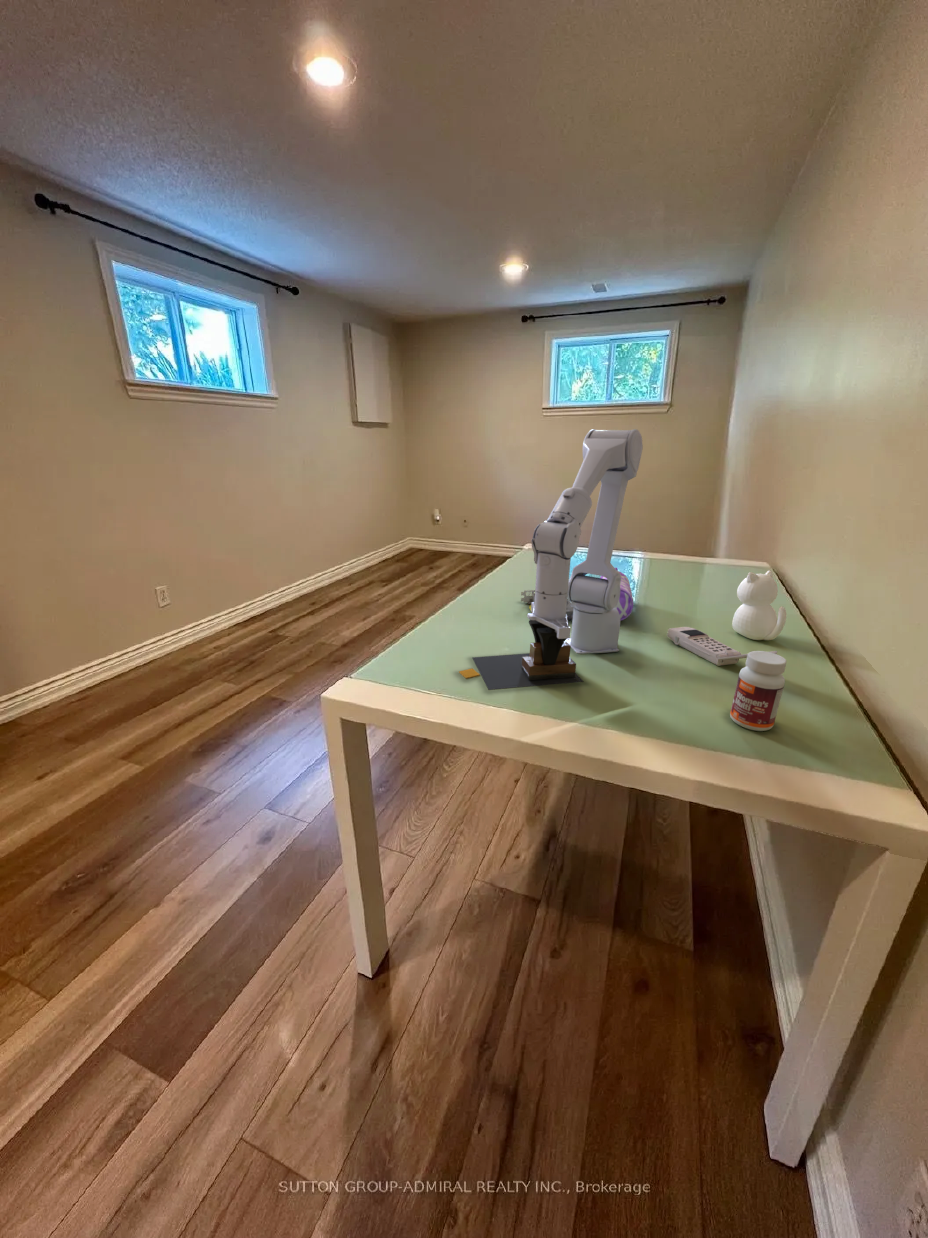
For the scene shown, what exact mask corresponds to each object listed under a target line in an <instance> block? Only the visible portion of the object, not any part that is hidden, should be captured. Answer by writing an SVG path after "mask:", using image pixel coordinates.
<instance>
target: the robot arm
mask: <svg viewBox="0 0 928 1238" xmlns="http://www.w3.org/2000/svg"><path fill="white" fill-rule="evenodd" d="M643 445H644V444H643V436H642V433H641V432H640V430H639V429H636V428H633V429H623V430H622V429H607V430H606V429H594V428H593V429H590V430H589V431H588V432H587V433H586V435H585V437H584V438H583V442H582V459H583V461H582V462H581V465H580V467H579V470H578V472H577V474H576V477H575V479H574V482H573V483H572V486H571V487H568V488H564V490H563V491H561V494H560V496H559V497H558V499H557V501H556V503H555V505H554V507H553V508H552V510H551V512H550V513H549V516H548V517H547V519H546V520H544V521H543V522H541V523H539V524H537V525H536V527H535V528H534V531H533V533H532V538H531V541H530V543H531V549H532V551H533V561H534V564H535V565H536V569H535V570H536V572H535V585H534V587H535V589H534V590H535V592H534V594H535V602H532V603H531V604H530V606H531V610H530V612H529V613H527V616H526V617H527V619H528V624H529V627H530V628H531V632H532V634H533V639H534V643H538V642H541V646H542V659H543V664H544V665H553V664H555V663H556V660H557V657H558V654H559V652H560V649H561V647H562V645H563V643H564V642H565V641H566V642H567V643H568V644H569V645H570V646H571V649H572V650H573V652H574V653H576V654H578V655H580V654H581V655H584V654H605V653H617V652H619V651H620V649H619V647H618V646H619V645H618V644H619V637H620V631H621V630H620V629H621V621H620V615H619V612H618V610H617V609H616V608H615V606H616V605H617V603H618V601H619V597H620V583H621V575H620V573H619V572H620V571H619V570H618V571H619V572H618V571H617V570H616V569H615V568H616V567H615V566H613V564H612V562H611V561H612V557H613V551H614V548H615V542H616V538H617V534H618V529H619V524H620V519H621V514H622V509H623V505H624V500H625V495H626V491H627V488H628V487H627V486H628V482H629V481H630V480H632V479H634V478H636V477H637V474H638V470H639V468H640V464H641V458H642V453H643V447H644V446H643ZM599 483H600V484H601V485H600V488H599V489H600V490H599V494H598V499H597V503H596V509H595V514H594V519H593V523H592V528H591V532H590V533H591V534H590V538H589V542H588V547H587V553H586V557H585V559H584V560H583V561H582V562H580V563H579V564H577V565H575V566H574V567H573V568H572V571H571V560H572V558H573V556H574V555H575V554H576V552H577V551H578V547H579V542H580V537H581V535H582V529H581V528H582V526H583V524H584V521H585V520H586V518H587V516H588V514H589V512H590V510H591V509H592V506H593V499H592V497H591V495H592V494H593V492H594V491H595V489H596V488H597V487H598V486H599V485H598V484H599ZM570 571H571V573H570ZM590 575H593V576H590ZM594 575H595V576H598V577H595V576H594ZM599 576H600V577H601V576H604V577H606V578H607V579H608V580H607V579H602V578H600V577H599ZM567 599H568V601H569V602H571V607H574V610H573V619H572V620H571V621H572V622H571V627H570V626H569V619H567V614H566V607H567Z"/></svg>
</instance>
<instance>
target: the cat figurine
mask: <svg viewBox="0 0 928 1238" xmlns="http://www.w3.org/2000/svg"><path fill="white" fill-rule="evenodd" d="M773 575H774V574H773V571H772V570H769V569H768V570H767V571H766V572H765V573H754V572H753V571H751V572H748V574H747V576H746V577H745V578H744V579H742V581H741V582H740V583H739V585H738V587H737V590H736V596H737V598H738V601H740V603H741V605H740V606H739V607H737V608H736V610H735V612H734V614H733V617H732V623H731V627H732V629H733V631H734V632H735V633H737V634H739V635H741V636H743V637H745V638H747V639H750V640H752V641H772V640H775V639H776V638H778V636H779V635H780V634H781V632H782V631H783V629H784V627H785V625H786V621H787V610H786V607H784V606H779V608H778V612H776V610H775V608H774V607H773V606H772V605H771V604H773V602H775V600H776V599H777V596H778V593H779V587H778V583H777V581H776V580H775V579H774V576H773ZM777 613H778V614H777Z"/></svg>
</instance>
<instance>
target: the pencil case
mask: <svg viewBox="0 0 928 1238" xmlns="http://www.w3.org/2000/svg"><path fill="white" fill-rule="evenodd" d="M614 568H615V569H616V570H617V571H618V572H619V573H620V575H621V583H620V597H619V601H618V603H617V605H616V606H615V608H616V609H617V610H618V612H619V615H620V622H622V621H625V620H626V619H627V618H629V617H630V616H631V614H632V612H633V610H634V597H633V592H632V588H631V584H630V580H629V577H627V575H626V574H625V573H623V572H622V571H619V570H618V569H619V568H618V567H614ZM599 578H602V579H607V578H606V577H604V576H600V577H599ZM607 580H608V579H607Z"/></svg>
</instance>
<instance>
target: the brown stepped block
mask: <svg viewBox="0 0 928 1238" xmlns="http://www.w3.org/2000/svg"><path fill="white" fill-rule="evenodd" d="M529 645H530V646H529V653H530V655H529V656H527V657H522V669H521V670H522V671H523V673H524V674H525V676H526V677H527V678H528V680H543V679H558V678H573V677H575V673H576V671H577V670H576V669H577V663H576V662H575V660H573V658H571V649H572V648H571V646H570V645H569V644H568V643H567V642H566V641H565V642H564V643H563V645H562V647H561V649H560V652H559V654H558V657H557V660H556V663H555V664H553V665H544V664H543V659H542V646H541V642H538V643H535V642H530V643H529Z"/></svg>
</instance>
